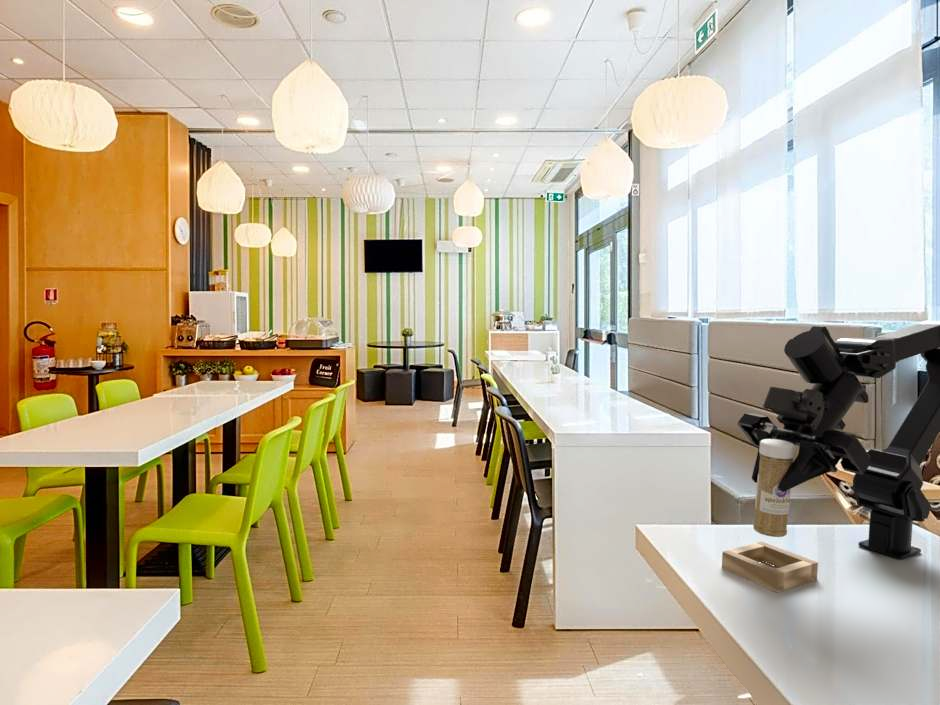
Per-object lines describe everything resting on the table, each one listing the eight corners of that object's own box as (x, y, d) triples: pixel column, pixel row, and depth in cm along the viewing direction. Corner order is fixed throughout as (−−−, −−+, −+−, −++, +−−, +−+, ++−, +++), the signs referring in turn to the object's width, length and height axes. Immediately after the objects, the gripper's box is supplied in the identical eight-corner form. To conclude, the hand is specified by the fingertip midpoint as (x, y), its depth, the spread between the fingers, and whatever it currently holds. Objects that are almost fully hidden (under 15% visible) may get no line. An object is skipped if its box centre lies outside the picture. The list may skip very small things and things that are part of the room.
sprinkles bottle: (769, 539, 89) (776, 446, 87) (745, 527, 93) (752, 438, 92) (794, 536, 90) (803, 445, 89) (770, 524, 95) (778, 437, 93)
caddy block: (761, 557, 98) (762, 541, 98) (817, 579, 90) (818, 562, 90) (721, 568, 94) (722, 551, 93) (776, 592, 86) (777, 574, 86)
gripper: (748, 362, 100) (691, 436, 96) (860, 374, 82) (795, 465, 79) (783, 408, 103) (728, 481, 100) (897, 429, 86) (836, 518, 83)
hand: (766, 485), depth 90 cm, fingers closed on sprinkles bottle, 4 cm apart
